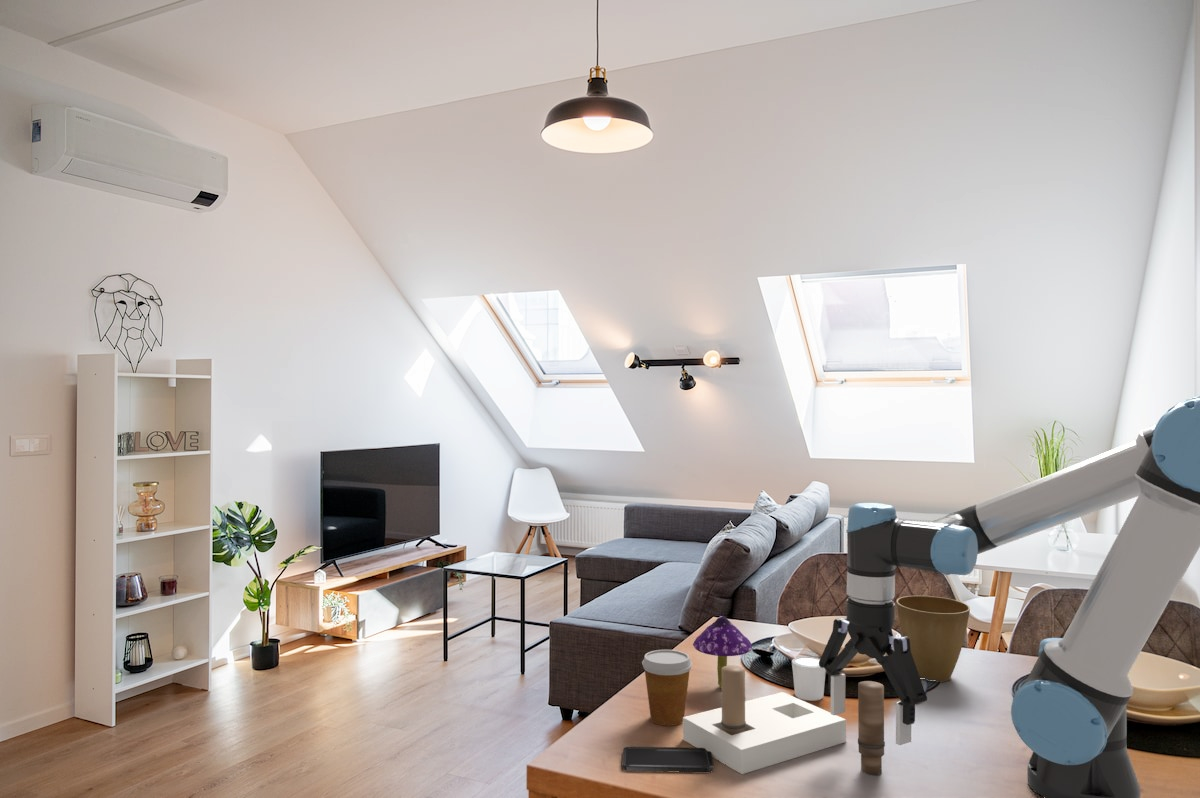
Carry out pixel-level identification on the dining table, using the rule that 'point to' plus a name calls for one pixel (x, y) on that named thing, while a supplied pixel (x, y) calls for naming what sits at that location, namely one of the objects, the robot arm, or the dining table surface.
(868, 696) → the walnut leg
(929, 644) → the plant pot
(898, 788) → the dining table surface
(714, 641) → the decorative mushroom
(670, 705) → the disposable coffee cup
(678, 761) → the phone
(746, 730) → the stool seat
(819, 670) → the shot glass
